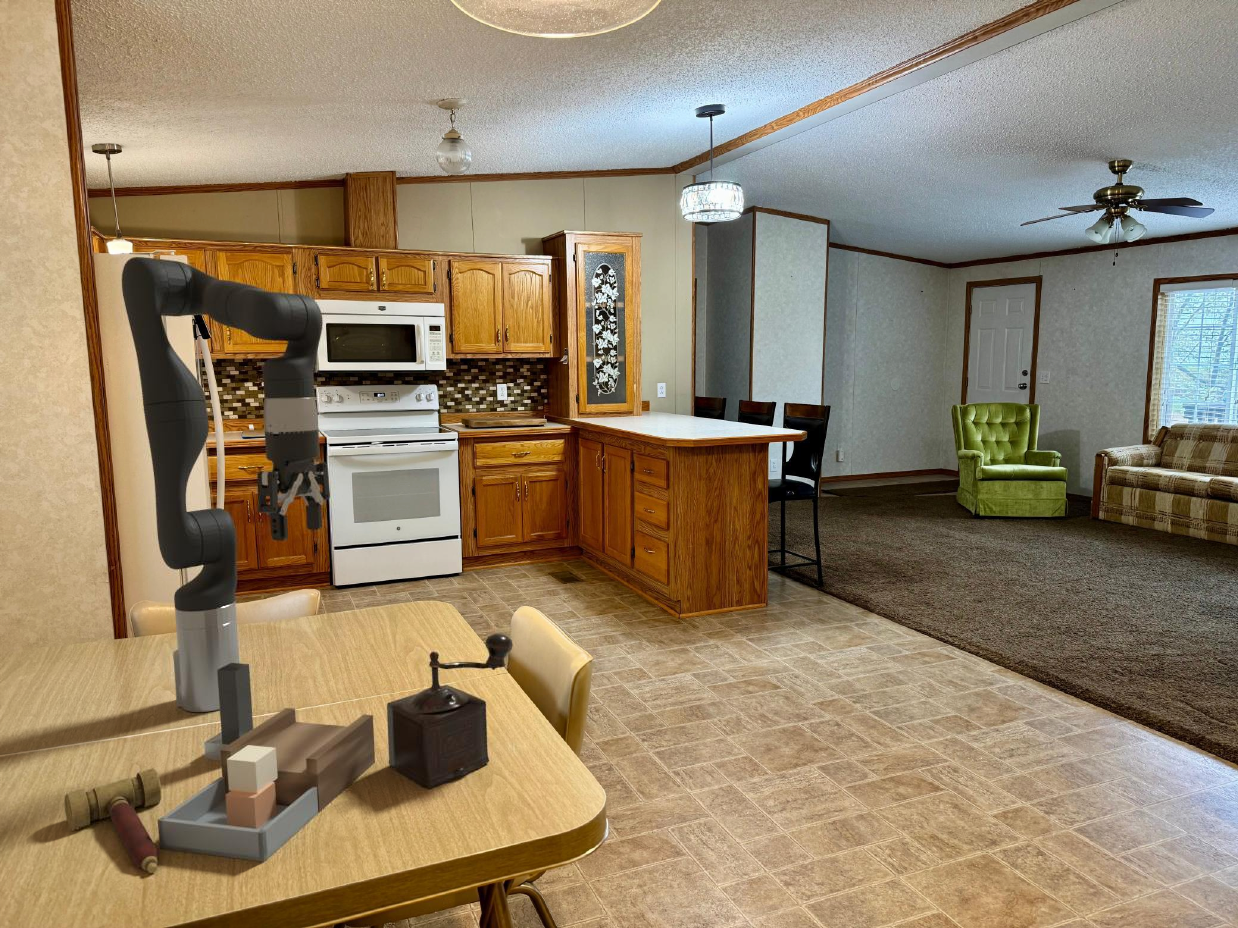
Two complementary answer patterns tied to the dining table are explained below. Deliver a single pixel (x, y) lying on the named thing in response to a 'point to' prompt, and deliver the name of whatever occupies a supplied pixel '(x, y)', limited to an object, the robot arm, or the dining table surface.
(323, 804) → the slot block
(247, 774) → the off-white cube
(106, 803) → the gavel
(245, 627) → the dining table surface
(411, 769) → the antique coffee grinder
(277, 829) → the tray
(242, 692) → the grey upright post
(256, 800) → the terracotta cube
